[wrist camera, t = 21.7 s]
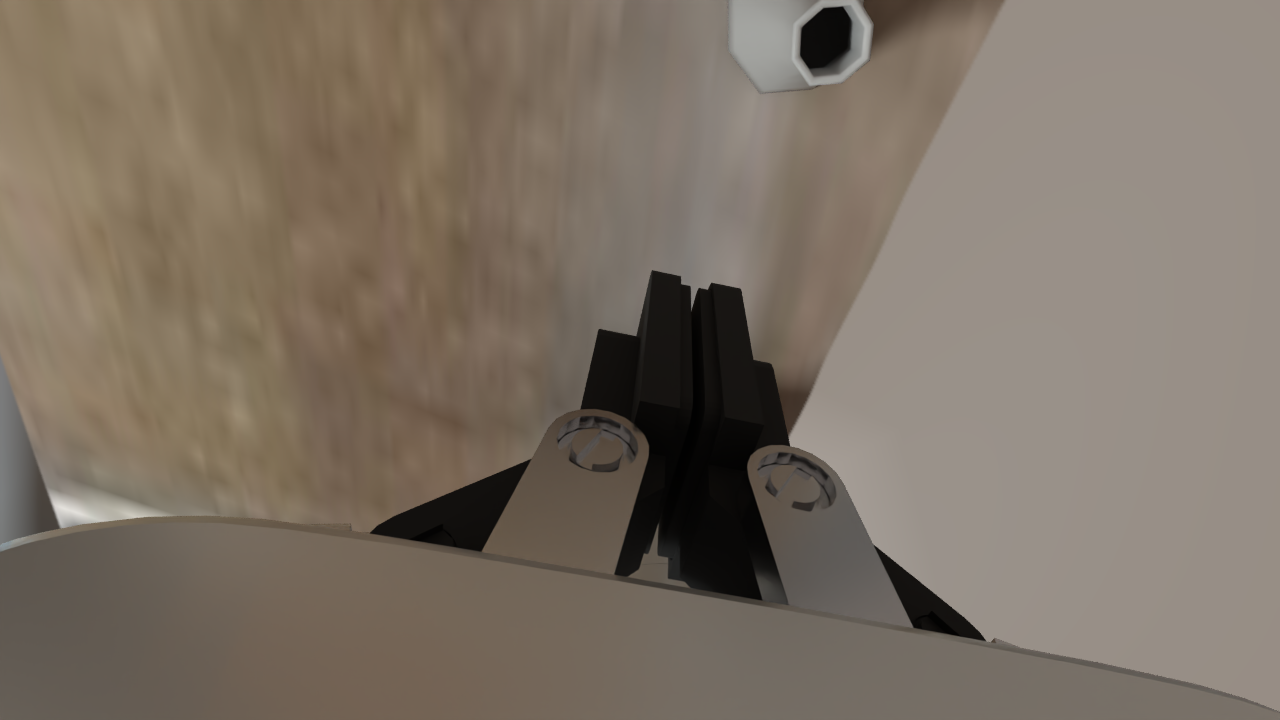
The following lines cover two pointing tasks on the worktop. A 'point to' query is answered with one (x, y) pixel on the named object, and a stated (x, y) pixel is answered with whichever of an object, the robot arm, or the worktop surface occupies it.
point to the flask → (798, 41)
